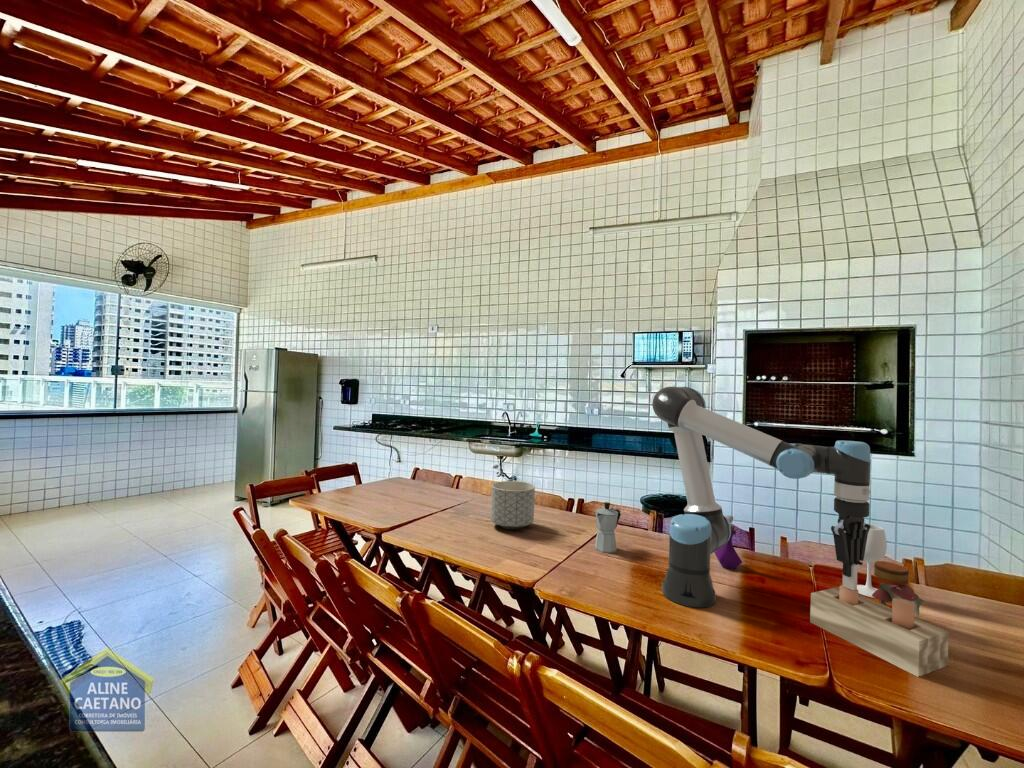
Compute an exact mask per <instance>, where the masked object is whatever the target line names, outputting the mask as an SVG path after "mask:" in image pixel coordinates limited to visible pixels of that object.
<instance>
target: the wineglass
mask: <svg viewBox="0 0 1024 768" xmlns="http://www.w3.org/2000/svg"><path fill="white" fill-rule="evenodd" d="M868 524H869V525H870V530H869V532H868V536H867V542H866V548H865V554H864V560H863V561H865V563H866V569H867V570H866V582H865V585H864V584H857V590H858V595H861V596H863V597H867V598H872V599H876V598H875V597H873V596H872V594H873V593H874V592H875V591H876V590H879V588H876V587H873V585H872V567H873V564H874V563H875V562H876V561H882V559H884V558H885V556H886V554H887V549H888V544H887V536H886V532H885V528H883V527H881V526H879V525H875V524H870V523H868Z"/></svg>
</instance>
